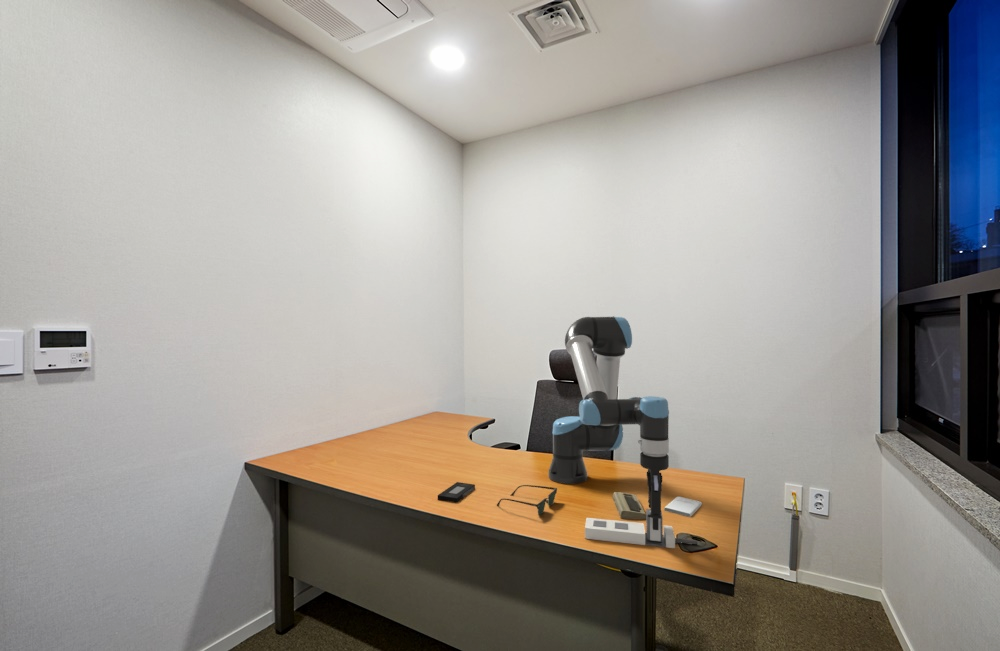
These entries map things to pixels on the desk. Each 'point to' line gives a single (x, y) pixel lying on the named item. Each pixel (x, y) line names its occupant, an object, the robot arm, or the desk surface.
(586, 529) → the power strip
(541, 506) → the sunglasses
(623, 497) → the computer
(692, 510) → the external hard drive
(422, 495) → the desk surface
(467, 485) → the vhs tape
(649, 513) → the charger
